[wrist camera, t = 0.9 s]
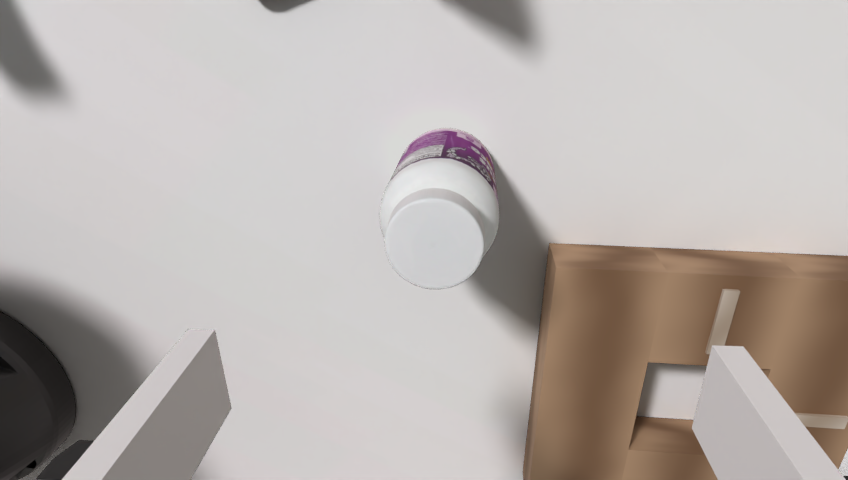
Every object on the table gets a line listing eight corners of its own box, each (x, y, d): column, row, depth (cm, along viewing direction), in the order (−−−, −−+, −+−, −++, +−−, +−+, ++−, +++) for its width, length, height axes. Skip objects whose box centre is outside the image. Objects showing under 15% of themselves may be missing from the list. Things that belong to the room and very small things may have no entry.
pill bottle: (513, 187, 30) (529, 268, 21) (433, 233, 32) (417, 326, 23) (461, 104, 28) (454, 155, 20) (379, 158, 30) (339, 227, 21)
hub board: (522, 471, 39) (526, 510, 36) (549, 243, 31) (556, 269, 28) (786, 491, 37) (812, 533, 34) (880, 257, 30) (924, 286, 27)
